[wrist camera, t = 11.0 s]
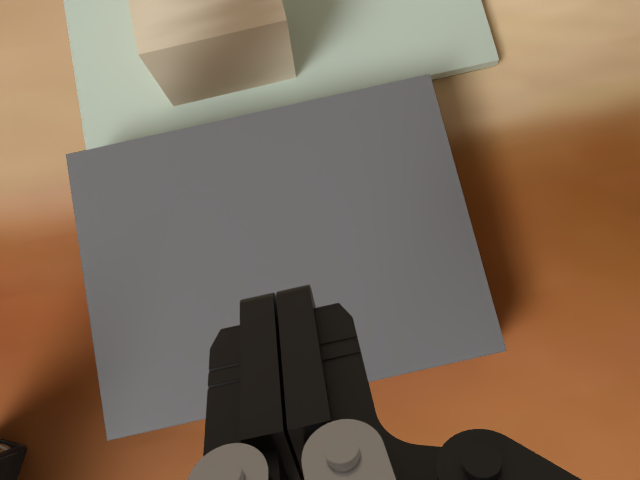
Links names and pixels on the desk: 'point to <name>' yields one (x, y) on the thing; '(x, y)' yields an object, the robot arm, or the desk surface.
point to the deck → (276, 242)
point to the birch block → (212, 45)
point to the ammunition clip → (10, 459)
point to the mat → (307, 49)
